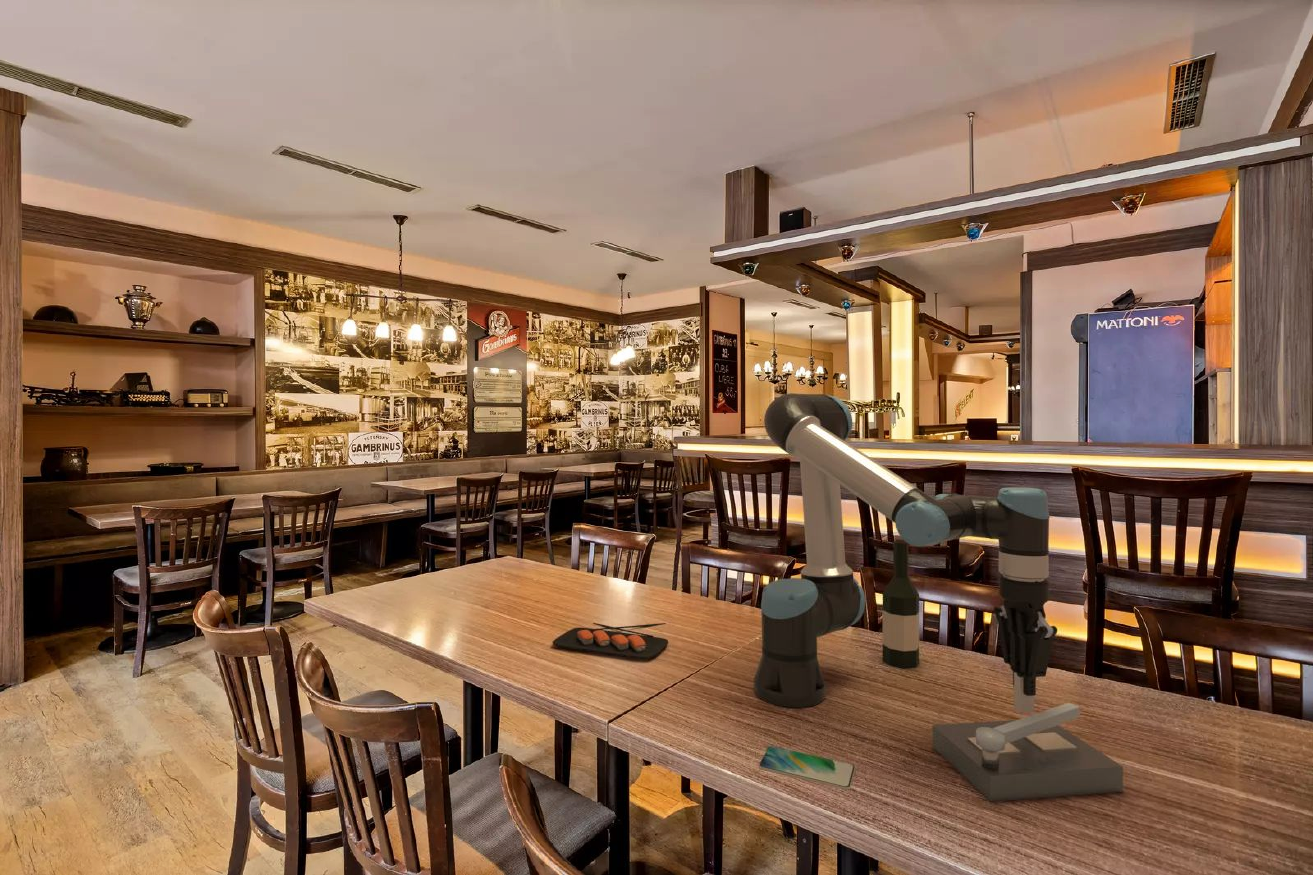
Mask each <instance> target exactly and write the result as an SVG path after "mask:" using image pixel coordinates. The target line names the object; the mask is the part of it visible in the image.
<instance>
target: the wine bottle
mask: <svg viewBox="0 0 1313 875" xmlns="http://www.w3.org/2000/svg"><path fill="white" fill-rule="evenodd" d="M892 553H893V554H892V555H893V563H892V564H893V565H892V566H893V567H892V568H893V570H892V571H893V576H892V578H891V579H890V581H889V582H888V584H887V585H886V587H885V588H884V590H883V592H882V662H883V663H885V664H887V665H888V666H889V667H893V668H899V669H903V670H905V669H906V670H907V669H916V668H918V666H919V664H920V593H919V591H917V589H916V587H915V585H914V583H913V582H912V580H911V579H910V577H909V543H907V542H905V541H904V540H903V539H902V538H901V537H896V538H895V540H894V541H893V552H892Z"/></svg>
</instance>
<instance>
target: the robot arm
mask: <svg viewBox="0 0 1313 875" xmlns="http://www.w3.org/2000/svg"><path fill="white" fill-rule="evenodd" d="M763 423H764V429H765V433H767V436H768V437H769V439H770V440H771V442H773V444H775V445H776V446H777V447H779V448H780V449H781V450H783V451H784V452H785V453H787V454H788V455H789V456H791V457H795V458H797V460H799V465H800V481H801V482H800V483H801V494H802V495H801V496H802V510H803V524H804V526H803V527H804V538H805V552H806V555H805V556H806V564H805V566H804V567H803V568H802V569H801V570H800V577H789V578H780V579H777V580H773V581H771V582H769V583H768V584H767V585H766V586H765V587H764V588H763V590H762V593H761V597H762V598H761V603H760V609H761V657H760V660H759V661H758V662H759V663H758V666H757V669H756V670H755V671H756V672H755V675H754V678H753V691H754V693H755V695H756V696H757V697H759V698H760V699H762V701H764V702H766V703H767V702H768V703H770V704H773V705H776V706H781V707H787V708H788V707H789V708H804V707H812V706H815V705H817V704H820V703H822V702H823V701H824V700H825V699H826V697H827V696H826V695H827V687H826V685H827V684H826V681H825V678H824V675H823V672H822V669H821V666H820V663H819V660H818V638H820V637H822V636H825V635H827V634H832V633H834V632H838V631H844V630H847V629H848V628H850V627H851V626H852V625H855V624H856V623H857V622H858V621H859V620H860V619H861V618H862V616H863V614H864V612H865V609H866V596H865V592H864V589H863V587H862V586H860V584H859V581H858V580H857V579H856V578H854V570H853V569H852V568H851V567H850V566H848V564H847V563H846V553H845V539H844V537H845V536H844V524H843V511H842V495H841V486H842V487H843V488H844V489H846V490H847V491H849V492H850V493H851V494H854V495H855V497H857V498H859V499H860V500H861V501H863V502H864V503H866V504H867V505H869V506H871V507H872V508H873V509H874V510H876V511H878V512H879V513H880V514H882V515H883V516H884V517H886V518H888V519H889V520H890V521H891V522H893V523H894V524H895V529H896V531H897V533H898V535H899V536H900V538H902V539H903V540H904V541H905V542H907V543H908V545H911V546H914V547H929V546H937V545H939V544H940V543H944V542H945V543H946V542H948V541H953V540H958V539H962V538H966V537H970V538H971V537H974V538H982V539H989V540H998V572H999V573H1000V574H1001V575H1000V576H999V577H998V594H999V596H1000V597H1001V598H1003V599H1004V600H1003V603H1002V605H1001V606H995V607H993V612H994V615H995V618H996V620H997V625H998V631H999V638H1000V645H1001V652H1002V658H1003V662H1004V663H1005V664H1007V665H1009V666H1010V670H1011V671H1012V685H1013V707H1014V708H1013V710H1014V711H1016V712H1017V713H1019V714H1027V713H1035V696H1036V694H1037V693H1036V692H1037V691H1036V690H1037V688H1036V687H1037V686H1036V685H1037V684H1036V680H1037V678H1044V677H1046V676H1047V673H1048V672H1047V671H1048V666H1049V661H1050V656H1051V650H1052V646H1053V641H1054V638H1055V636H1056V635H1057V633H1058V628H1057V626H1055V625H1050V624H1049V622H1048V621H1047V620H1046V618H1047V617H1046V612H1045V609H1044V606H1045V604H1046V603H1047V602H1049V601H1050V581H1049V580H1048V579H1047V578H1048V577H1049V576H1050V572H1049V569H1050V568H1049V567H1050V565H1049V561H1050V560H1049V552H1050V550H1049V547H1050V546H1049V544H1050V543H1049V542H1050V541H1049V538H1050V537H1049V536H1050V534H1049V532H1050V515H1051V514H1050V512H1049V511H1050V510H1049V498H1048V495H1047V493H1046V492H1045V491H1044V490H1042V489H1041V488H1036V487H1017V486H1013V487H1002V488H1000V489H999V491H998V495H997V497H988V496H987V497H984V496H978V495H977V496H975V495H965V494H964V495H963V494H958V493H949V494H947V493H941V494H940V493H939V494H937V495H935V496H934V498H933V497H932V496H931V495H929V494H927V493H926V492H924V491H922V490H921V489H919V488H918V487H917V486H915V485H914V484H912V483H910V482H909V481H907V480H906V479H904V478H902V477H901V476H900V475H898V474H896V473H895V472H893V471H892V470H890V469H889V468H887V467H886V466H884V465H882V464H881V463H879V462H877V461H876V460H874V459H873V458H872V457H870V456H869V455H867V454H866V453H864V452H862V451H860V450H859V449H857V448H856V447H855V446H852V445H851V444H850V443H848V442H847V441H846V440H847V439H848V437H849V435H850V434H851V432H852V429H853V417H852V413H851V410H850V409H849V407H848V406H847V404H846V403H845V402H844V401H842V400H841V399H840V398H839V397H836V396H834V395H833V396H832V395H828V394H824V393H819V394H818V393H792V392H791V393H786V394H785V393H784V394H782V395H780V396H777V397H776V398H775V399H773V400H772V402H771V403H769V405H768V407H767V408H766V411H765V412H764V422H763Z"/></svg>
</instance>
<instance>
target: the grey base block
mask: <svg viewBox="0 0 1313 875" xmlns="http://www.w3.org/2000/svg"><path fill="white" fill-rule="evenodd" d="M1016 720H1017V719H1009V720H996V721H978V722H975V721H974V722H962V723H960V722H959V723H946V724H945V723H944V724H943V723H942V724H932V748H933V749H934V750H935V752H937V753H938V754H939V755H940V756H941V757H942V758H944V760H945V761H946V762H947V763H948V764H950V766H952V767H953V768H954V769H955V770H956V772H958V773H959V774H960V775H962V777H964V779H966V780H967V781H968V782H969V783H970V784H971V785H972V786H973V788H975V789H976V790H977V791H978V792H979V793H980V794H982V796H984V797H985V798H986V800H988V801H989V802H990V803H993V802H1004V801H1005V802H1006V801H1007V802H1008V801H1019V800H1033V799H1046V798H1061V797H1074V796H1086V795H1088V796H1089V795H1101V794H1113V793H1123V790H1124V789H1123V788H1124V785H1123V784H1124V783H1123V782H1124V779H1123V778H1124V775H1123V773H1124V766H1122V764H1120V763H1118V762H1116V761H1115V760H1114V759H1112V758H1110V757H1109V756H1107V755H1105V754H1104V753H1103V752H1101V751H1099V750H1097V749H1096V748H1095V747H1094V746H1092V745H1090V744H1088V743H1087V742H1085V741H1084V740H1082V739H1081V738H1079V737H1077V736H1076V735H1074V734H1073V733H1071V732H1070V731H1068V730H1067V729H1065V728H1063V727H1061V725H1057V726H1054V727H1051V728H1048V729H1046V730H1043V731H1040V732H1037V733H1034V734H1032V735H1029V736H1026V737H1023V738H1020V739H1018V740H1015V741H1012V742H1009V743H1007V744H1005V749H1004V750H1003V751H989V750H986V749H983V748H981V747H980V746H978V745H977V744H976V729H977V728H980V727H988V728H995V727H998V726H1001V725H1004V724H1007V723H1010V722H1013V721H1016Z"/></svg>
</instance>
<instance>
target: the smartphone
mask: <svg viewBox="0 0 1313 875" xmlns="http://www.w3.org/2000/svg"><path fill="white" fill-rule="evenodd" d="M758 769H760V770H762V771H766V772H770V773H774V774H778V775H783V776H785V777H786V776H787V777H790V778H795V779H800V780H804V781H806V782H807V781H809V782H810V783H811V782H812V783H816V784H820V785H824V786H829V787H834V788H836V789H842V790H846V791H847V790H851V788H852V786H853V782H854V781H853V780H854V777H855V773H856V766H855V764H852V763H848V762H844V761H840V760H836V759H830V758H827V757H823V756H817V755H814V754H809V753H804V752H800V751H796V750H793V749H792V750H791V749H786V748H783V747H778V746H773V745H768V746H767V748H766V750H765V752H764V754H763V756H762V758H761V760H760V761H759V764H758Z"/></svg>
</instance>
